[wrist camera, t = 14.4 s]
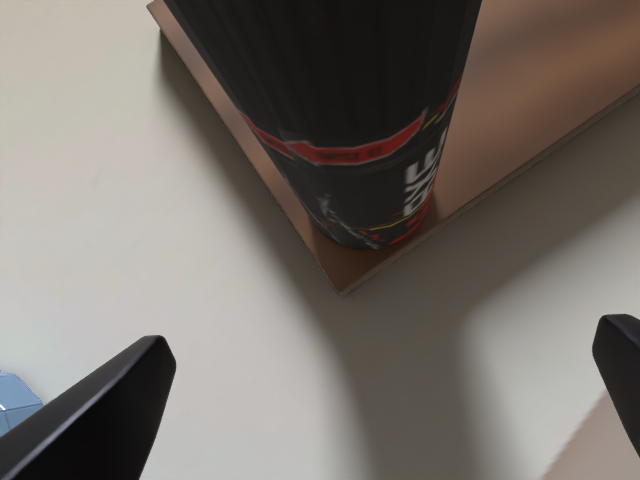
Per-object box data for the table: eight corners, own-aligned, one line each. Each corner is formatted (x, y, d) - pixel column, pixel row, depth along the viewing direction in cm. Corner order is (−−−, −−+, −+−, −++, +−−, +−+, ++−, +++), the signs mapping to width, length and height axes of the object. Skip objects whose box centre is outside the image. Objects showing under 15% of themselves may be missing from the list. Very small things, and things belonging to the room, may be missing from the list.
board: (682, 62, 18) (707, 39, 17) (342, 297, 18) (337, 293, 17) (405, -149, 25) (406, -179, 24) (159, 24, 25) (145, 5, 24)
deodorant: (402, 270, 17) (452, -129, 2) (285, 223, 18) (-90, -186, 4) (450, 155, 18) (690, -620, 3) (335, 119, 19) (172, -508, 5)
